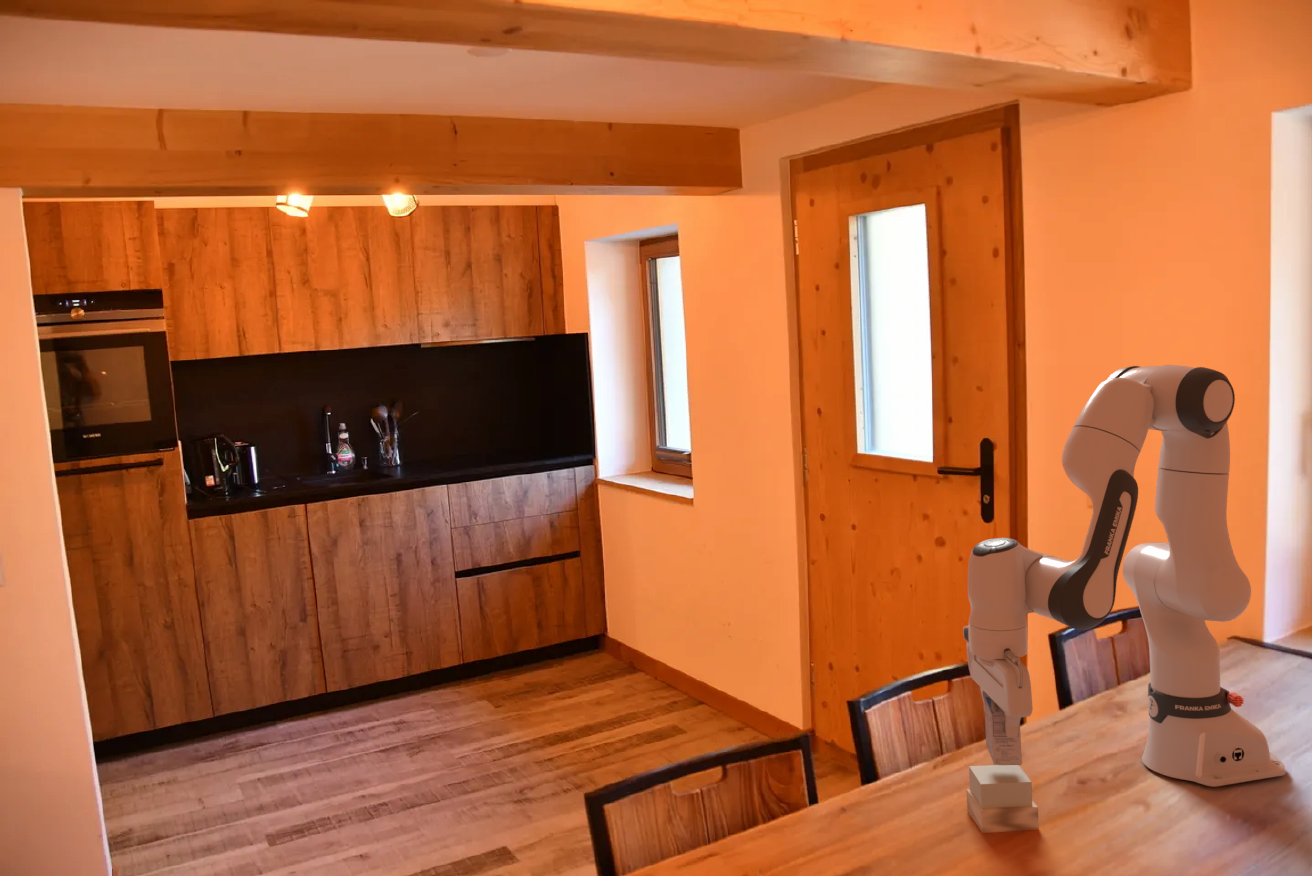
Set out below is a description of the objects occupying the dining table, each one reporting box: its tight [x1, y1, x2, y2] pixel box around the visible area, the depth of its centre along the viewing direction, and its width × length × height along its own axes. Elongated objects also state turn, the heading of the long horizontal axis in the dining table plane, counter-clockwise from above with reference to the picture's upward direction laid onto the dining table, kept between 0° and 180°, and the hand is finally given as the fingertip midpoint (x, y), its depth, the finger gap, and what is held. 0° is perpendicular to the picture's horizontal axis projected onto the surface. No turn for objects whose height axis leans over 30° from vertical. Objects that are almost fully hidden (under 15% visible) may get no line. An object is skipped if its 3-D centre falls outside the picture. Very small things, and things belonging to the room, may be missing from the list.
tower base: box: [965, 788, 1040, 834], centre depth 171 cm, size 9×8×4 cm
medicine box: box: [983, 697, 1023, 766], centre depth 169 cm, size 8×4×9 cm, turn 171°
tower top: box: [968, 764, 1033, 808], centre depth 170 cm, size 8×7×4 cm
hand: (1000, 724), depth 169 cm, fingers closed on medicine box, 8 cm apart
